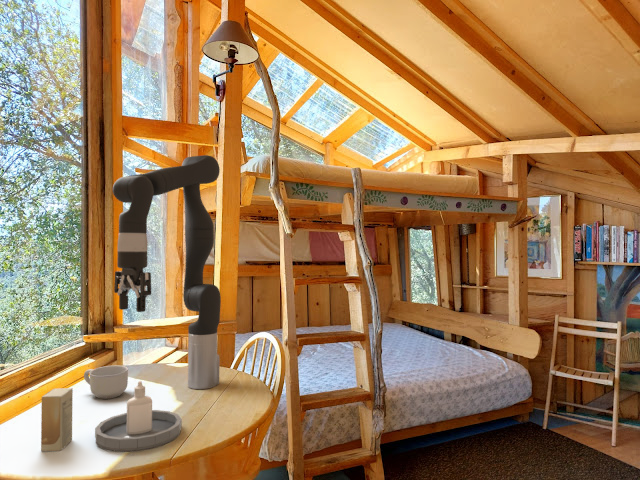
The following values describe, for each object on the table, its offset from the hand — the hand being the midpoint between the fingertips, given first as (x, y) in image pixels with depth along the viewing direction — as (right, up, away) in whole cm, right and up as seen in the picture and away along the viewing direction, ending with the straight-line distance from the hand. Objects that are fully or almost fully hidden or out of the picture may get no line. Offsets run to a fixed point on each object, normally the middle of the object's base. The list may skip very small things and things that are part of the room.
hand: (132, 310), depth 128 cm
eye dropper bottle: (+7, -27, -14) cm, 31 cm away
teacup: (-15, -29, +17) cm, 37 cm away
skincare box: (-9, -28, -20) cm, 36 cm away
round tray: (+7, -28, -14) cm, 32 cm away
